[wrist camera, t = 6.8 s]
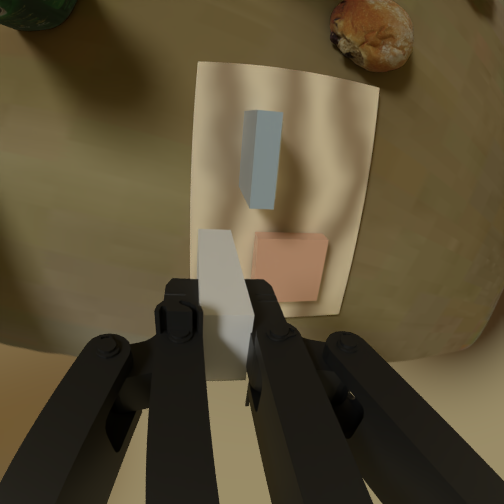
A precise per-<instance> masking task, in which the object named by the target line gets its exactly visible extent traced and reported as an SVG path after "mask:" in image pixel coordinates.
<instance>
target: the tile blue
mask: <svg viewBox="0 0 504 504" xmlns="http://www.w3.org/2000/svg"><path fill="white" fill-rule="evenodd" d="M282 120H283V112H275V111H265V110H248V111H244V121H243V134H242V147H241V161H240V175H239V188H240V190H241V192H242V194H243V196H244V198H245V200H246V202H247V204H248V206H249V209H273V210H274V201H275V199H276V190H277V181H278V171H279V161H280V151H281V140H282V130H283V121H282Z"/></svg>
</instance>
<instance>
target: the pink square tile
mask: <svg viewBox="0 0 504 504" xmlns="http://www.w3.org/2000/svg"><path fill="white" fill-rule="evenodd" d="M328 241H329V240H328V239H327V238H326V237H325V236H324V234H323V233H286V232H255V238H254V249H253V261H252V272H251V279H264V280H265V281H266V282H268V283H269V284H270V285H271V286H272V288H273V290H274V293H275V295H276V297H277V300H278V302H297V301H317V297H318V292H319V288H320V283H321V278H322V273H323V268H324V263H325V258H326V252H327V247H328Z"/></svg>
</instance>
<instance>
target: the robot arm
mask: <svg viewBox="0 0 504 504" xmlns="http://www.w3.org/2000/svg"><path fill="white" fill-rule="evenodd" d="M154 312H155V325H156V335H155V336H154V337H152V338H151V339H149V340H147V341H143V342H140V343H134V344H129V342H128V341H127V340H126V339H125V338H124V337H122V336H120V335H117V334H103V335H99V336H97V337H95V338H93V339H91V340H90V341H89V342H88V343H87V345H86V346H85V347H84V349H83V350H82V352H81V353H80V354H79V356H78V357H77V359H76V360H75V362H74V363H73V364H72V366H71V367H70V369H69V370H68V372H67V373H66V375H65V376H64V378H63V379H62V381H61V382H60V384H59V385H58V387H57V388H56V390H55V391H54V393H53V394H52V396H51V397H50V399H49V400H48V402H47V403H46V405H45V407H44V408H43V410H42V411H41V413H40V414H39V416H38V418H37V420H36V421H35V423H34V425H33V426H32V428H31V429H30V431H29V433H28V434H27V436H26V438H25V439H24V441H23V443H22V444H21V446H20V448H19V449H18V451H17V453H16V455H15V456H14V458H13V460H12V462H11V464H10V465H9V467H8V469H7V471H6V473H5V475H4V476H3V478H2V480H1V482H0V504H107V502H108V499H109V496H110V493H111V491H112V488H113V485H114V483H115V480H116V477H117V475H118V472H119V469H120V467H121V464H122V462H123V459H124V456H125V454H126V451H127V448H128V446H129V443H130V441H131V438H132V436H133V433H134V430H135V428H136V426H137V423H138V421H139V418H140V416H141V413H142V409H146V408H149V417H148V435H147V455H146V504H219V497H218V489H217V482H216V474H215V466H214V458H213V449H212V439H211V430H210V420H209V410H208V399H207V389H206V388H207V387H206V381H229V380H230V381H231V380H245V379H246V372H247V374H248V378H249V383H248V390H247V396H246V404H245V406H249V402H250V406H251V411H252V416H253V421H254V426H255V431H256V435H257V440H258V445H259V449H260V454H261V458H262V462H263V467H264V472H265V476H266V481H267V485H268V489H269V493H270V498H271V502H272V504H373V502H372V500H371V497H370V495H369V492H368V490H367V488H366V485H365V483H364V481H363V479H364V480H365V482H366V483H367V484H368V486H369V487H370V488H371V489H372V491H373V492H374V493H375V494H376V496H377V497H378V498H379V500H380V501H381V502H382V503H383V504H504V481H503V480H502V479H501V478H500V477H499V476H498V475H497V473H495V471H494V470H493V469H492V468H491V467H490V466H489V465H488V464H487V463H486V462H485V461H484V460H483V459H482V458H481V457H480V456H479V455H478V454H477V453H476V452H475V451H474V450H473V449H472V448H471V446H470V445H469V444H468V443H466V441H465V440H464V439H463V438H462V437H461V436H460V435H459V434H458V433H457V432H456V431H455V430H454V429H453V428H452V427H451V426H450V425H449V424H448V423H447V422H446V421H445V420H444V419H443V418H442V417H441V416H440V415H439V414H438V413H437V412H436V411H435V410H434V409H433V408H432V407H431V406H430V405H429V404H428V403H427V402H426V401H425V400H424V399H423V398H422V397H421V396H420V395H419V394H418V393H417V392H416V391H415V390H414V389H413V388H412V387H411V386H410V385H409V384H408V383H407V382H406V381H405V380H404V379H403V378H402V377H401V376H400V375H399V374H398V373H397V372H396V371H395V370H394V369H393V368H392V367H391V366H390V365H389V364H388V363H387V362H386V361H385V360H384V359H383V358H382V357H381V356H380V355H379V354H378V353H377V352H376V351H375V350H374V349H373V348H372V347H371V346H370V345H369V344H368V343H367V342H366V341H365V340H364V339H362V338H361V337H359V336H358V335H356V334H353V333H351V332H345V331H340V332H334V333H332V334H330V335H329V337H328V338H327V340H326V342H321V341H314V340H309V339H305V338H303V337H301V334H300V333H299V331H298V330H297V329H296V328H295V327H294V326H292V325H291V324H289V323H287V322H286V319H285V317H284V314H283V312H282V310H281V307H280V305H279V302H278V300H277V297H276V295H275V293H274V290H273V288H272V286H271V285H270V284H269V283H268V282H266V281H265V280H264V279H244V276H243V273H242V269H241V265H240V262H239V258H238V254H237V251H236V247H235V244H234V240H233V236H232V233H231V230H219V229H198V249H197V279H178V278H172V279H171V280H170V281H169V282H168V284H167V285H166V288H165V295H164V301H162V302H161V303H160V304H158V305H157V306H156V308H155V310H154ZM350 391H351V393H352V394H353V395H354V396H355V397H354V396H353V395H352V394H351V393H350Z"/></svg>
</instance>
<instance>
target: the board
mask: <svg viewBox="0 0 504 504" xmlns="http://www.w3.org/2000/svg"><path fill="white" fill-rule="evenodd" d="M378 98H379V88H378V87H374V86H370V85H366V84H362V83H358V82H354V81H350V80H345V79H341V78H336V77H331V76H326V75H321V74H316V73H310V72H304V71H298V70H291V69H284V68H277V67H268V66H259V65H249V64H237V63H221V62H198V67H197V79H196V92H195V106H194V123H193V142H192V165H191V202H190V279H197V249H198V229H219V230H231V233H232V236H233V240H234V244H235V247H236V251H237V254H238V258H239V262H240V265H241V269H242V273H243V276H244V279H251V272H252V261H253V249H254V238H255V232H286V233H323V234H324V236H325V237H326V238H327V239H328V240H329V241H328V247H327V252H326V258H325V263H324V268H323V273H322V278H321V283H320V288H319V292H318V297H317V301H297V302H279V305H280V307H281V310H282V312H283V314H284V317H301V316H319V315H334V314H339V311H340V307H341V304H342V300H343V296H344V292H345V288H346V284H347V280H348V276H349V271H350V267H351V263H352V259H353V254H354V250H355V245H356V240H357V236H358V231H359V226H360V221H361V216H362V210H363V205H364V199H365V194H366V188H367V182H368V176H369V170H370V163H371V156H372V149H373V142H374V134H375V126H376V118H377V108H378ZM248 110H265V111H275V112H283V120H282V121H283V130H282V140H281V151H280V161H279V171H278V181H277V190H276V199H275V201H274V210H273V209H249V206H248V204H247V202H246V200H245V198H244V196H243V194H242V192H241V190H240V188H239V175H240V161H241V147H242V134H243V121H244V111H248Z"/></svg>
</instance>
